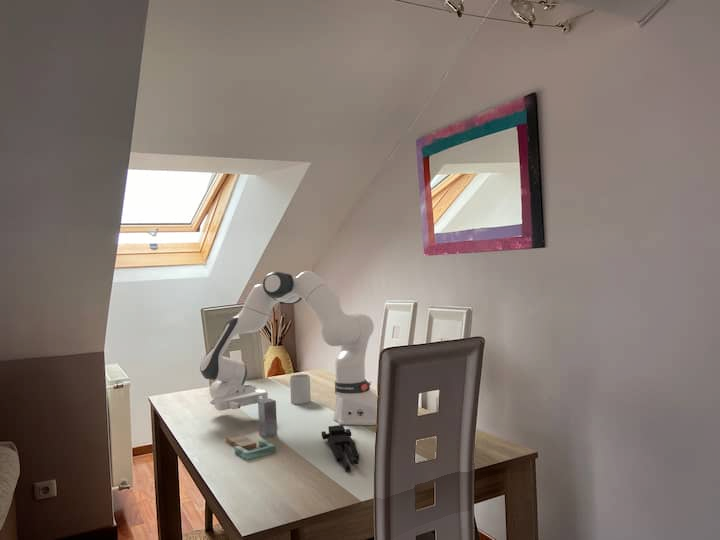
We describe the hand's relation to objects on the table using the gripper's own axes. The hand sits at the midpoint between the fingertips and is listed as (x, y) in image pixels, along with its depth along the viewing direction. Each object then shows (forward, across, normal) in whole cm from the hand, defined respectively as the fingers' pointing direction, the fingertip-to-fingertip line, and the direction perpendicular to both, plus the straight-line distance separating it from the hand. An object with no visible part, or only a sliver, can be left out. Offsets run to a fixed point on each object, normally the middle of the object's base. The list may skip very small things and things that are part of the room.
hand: (250, 403), depth 199 cm
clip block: (+13, 0, +8) cm, 15 cm away
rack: (+20, -11, +8) cm, 24 cm away
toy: (+46, +8, +8) cm, 48 cm away
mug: (-19, +33, +9) cm, 39 cm away
